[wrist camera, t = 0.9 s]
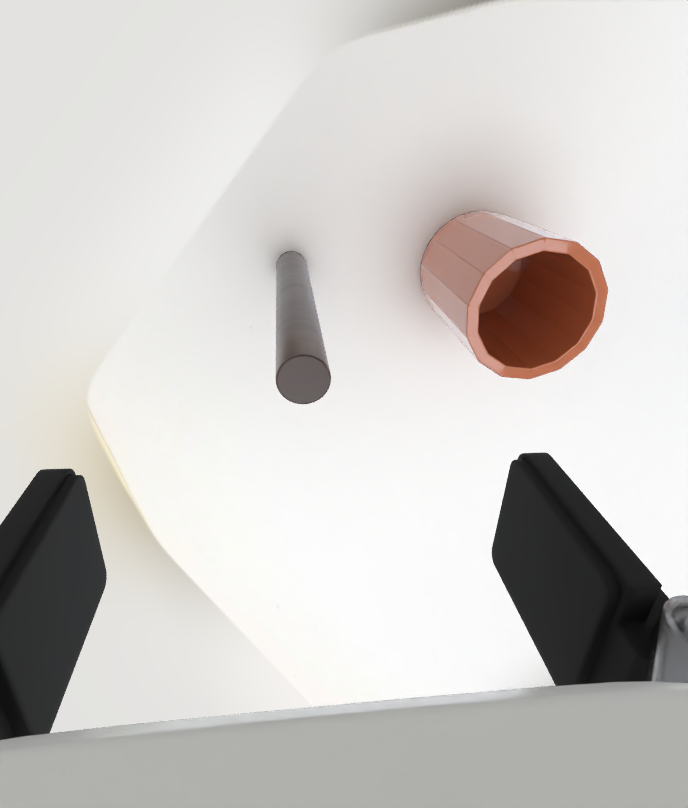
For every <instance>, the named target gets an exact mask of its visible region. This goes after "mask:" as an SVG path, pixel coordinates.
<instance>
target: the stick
mask: <svg viewBox="0 0 688 808" xmlns="http://www.w3.org/2000/svg"><path fill="white" fill-rule="evenodd" d="M330 382H331V375H330V370H329V366H328V361H327V356H326V352H325V347H324V343H323V338H322V333H321V329H320V324H319V320H318V315H317V310H316V306H315V301H314V296H313V292H312V287H311V283H310V278H309V273H308V269H307V264H306V261H305V259H304V258H303V256H302V255H300V254H299V253H297V252H286V253H284V254H282V255H281V256H280V257H279V259H278V261H277V278H276V385H277V388H278V390H279V392H280V393H281V394H282V396H283V397H285V398H286V399H287V400H289V401H291V402H293V403H297V404H308V403H312V402H315V401H317V400H319V399H320V398H321V397H323V396H324V395H325V393H326V392H327V390H328V389H329V386H330Z"/></svg>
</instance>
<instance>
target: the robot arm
mask: <svg viewBox="0 0 688 808" xmlns="http://www.w3.org/2000/svg"><path fill="white" fill-rule="evenodd" d="M492 558H493V562H494V565H495V567H496V569H497V571H498V573H499V575H500V577H501V579H502V581H503V583H504V585H505V587H506V589H507V591H508V593H509V595H510V596H511V598H512V600H513V602H514V604H515V606H516V608H517V610H518V612H519V614H520V616H521V618H522V620H523V622H524V624H525V626H526V628H527V630H528V632H529V634H530V636H531V638H532V640H533V642H534V644H535V646H536V648H537V649H538V651H539V653H540V655H541V657H542V659H543V661H544V663H545V665H546V667H547V669H548V671H549V673H550V675H551V677H552V679H553V681H554V683H555V685H556V686H549V687H535V688H523V689H512V690H500V691H488V692H477V693H465V694H453V695H441V696H430V697H418V698H407V699H396V700H385V701H374V702H362V703H351V704H340V705H329V706H319V707H308V708H297V709H286V710H275V711H265V712H254V713H243V714H234V715H223V716H214V717H202V718H192V719H181V720H171V721H161V722H151V723H141V724H130V725H120V726H111V727H102V728H93V729H84V730H76V731H67V732H58V733H50V731H51V728H52V725H53V722H54V720H55V717H56V715H57V712H58V709H59V707H60V704H61V702H62V699H63V696H64V694H65V691H66V688H67V686H68V683H69V681H70V678H71V675H72V673H73V670H74V667H75V665H76V662H77V660H78V657H79V654H80V651H81V649H82V646H83V644H84V641H85V639H86V636H87V633H88V631H89V628H90V625H91V623H92V620H93V617H94V615H95V612H96V609H97V607H98V604H99V602H100V599H101V596H102V594H103V591H104V588H105V585H106V568H105V564H104V559H103V555H102V551H101V547H100V543H99V538H98V534H97V530H96V525H95V521H94V517H93V513H92V509H91V504H90V500H89V496H88V492H87V487H86V483H85V480H84V477H83V476H81V475H75V472H74V471H73V470H72V469H45V470H40V471H39V472H38V473H37V474H36V476H35V477H34V478H33V480H32V481H31V483H30V484H29V485H28V487H27V488H26V490H25V491H24V493H23V494H22V495H21V497H20V498H19V500H18V501H17V503H16V504H15V505H14V507H13V508H12V510H11V511H10V512H9V514H8V515H7V516H6V518H5V519H4V521H3V522H2V524H1V525H0V808H688V596H684V595H683V596H676V597H672V598H670V599H669V598H668V597H667V596H666V595H665V593H664V592H663V591H662V590H661V586H662V585H661V584H660V582H659V581H658V580H657V579H656V578H655V577H654V575H653V574H652V573H651V572H650V571H649V570H648V569H647V567H646V566H645V565H644V564H643V563H642V562H641V560H640V559H639V558H638V557H637V556H636V555H635V553H634V552H633V551H632V550H631V549H630V548H629V546H628V545H627V544H626V543H625V542H624V541H623V539H622V538H621V537H620V536H619V535H618V534H617V532H616V531H615V530H614V529H613V528H612V527H611V525H610V524H609V523H608V522H607V521H606V520H605V518H604V517H603V516H602V515H601V514H600V513H599V512H598V510H597V509H596V508H595V507H594V506H593V505H592V503H591V502H590V501H589V500H588V499H587V498H586V496H585V495H584V494H583V493H582V492H581V491H580V489H579V488H578V487H577V486H576V485H575V484H574V482H573V481H572V480H571V479H570V478H569V477H568V475H567V474H566V473H565V472H564V471H563V470H562V468H561V467H560V466H559V465H558V464H557V463H556V461H555V460H554V459H553V458H552V457H551V456H550V455H549V454H548V453H523V454H521V455H520V456H519V457H518V460H514V461H512V463H511V466H510V470H509V474H508V479H507V483H506V488H505V492H504V497H503V501H502V506H501V510H500V515H499V519H498V524H497V528H496V533H495V538H494V542H493V547H492Z"/></svg>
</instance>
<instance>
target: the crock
mask: <svg viewBox="0 0 688 808" xmlns="http://www.w3.org/2000/svg"><path fill="white" fill-rule="evenodd" d="M420 276H421V284H422V289H423V292H424V294H425V296H426V298H427V300H428V302H429V303H430V304H431V306H432V308H433V310H434V311H435V312H436V313H437V314H438V315H439V317H440V318H441V319H442V320H443V321H444V322H445V323H446V325H447V326H448V327H449V328H450V329H451V330H452V332H453V333H454V334H455V335H456V336H457V337H458V338H459V340H460V341H461V342H462V343H463V344H464V345H465V346H466V348H467V349H468V350H469V351H470V352H471V353H472V355H473V356H474V357H475V358H476V359H477V360H478V361H479V362H480V363H481V364H483V365H484V366H486V367H487V368H489V369H490V370H492V371H493V372H495V373H496V374H498V375H499V376H502V377H511V378H522V379H532V378H535V377H538V376H541V375H544V374H547V373H550V372H553V371H556V370H559V369H561V368H562V367H563V366H565V365H566V364H567V363H568V362H570V361H571V360H572V359H573V358H575V357H576V356H577V355H579V354H580V353H581V352H582V351H584V350H585V349H586V347H587V346H588V344H589V343H590V341H591V339H592V338H593V336H594V335H595V333H596V331H597V330H598V328H599V326H600V325H601V323H602V320H603V317H604V311H605V305H606V299H607V294H608V290H607V289H608V287H607V284H606V281H605V278H604V275H603V271H602V268H601V265H600V262H599V260H598V259H597V258H596V257H594V256H593V255H592V254H591V253H590V252H588V251H587V250H586V249H585V248H584V247H583V246H581V245H580V244H579V243H578V242H576V241H573V240H570V239H568V238H565V237H562V236H560V235H557V234H554V233H552V232H549V231H546V230H543V229H541V228H538V227H535V226H533V225H530V224H527V223H525V222H522V221H519V220H517V219H514V218H511V217H509V216H506V215H503V214H497V213H493V212H488V211H475V212H469V213H466V214H463V215H460V216H458V217H456V218H454V219H452V220H451V221H449V222H448V223H446V224H445V225H444V226H443V227H442V228H441V229H440V230H439V231H438V232H437V233H436V234H435V235H434V237H433V238H432V239H431V241H430V242H429V244H428V246H427V248H426V250H425V253H424V256H423V259H422V263H421V273H420Z"/></svg>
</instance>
